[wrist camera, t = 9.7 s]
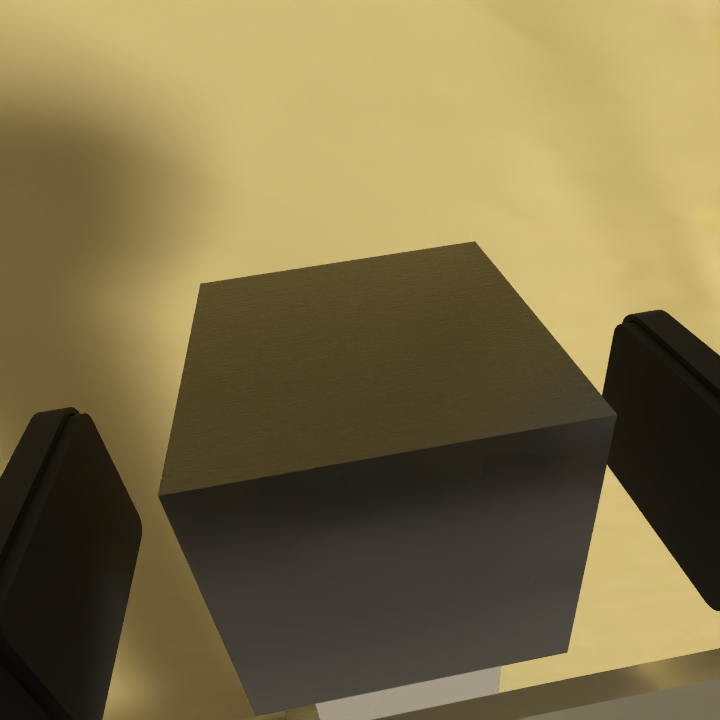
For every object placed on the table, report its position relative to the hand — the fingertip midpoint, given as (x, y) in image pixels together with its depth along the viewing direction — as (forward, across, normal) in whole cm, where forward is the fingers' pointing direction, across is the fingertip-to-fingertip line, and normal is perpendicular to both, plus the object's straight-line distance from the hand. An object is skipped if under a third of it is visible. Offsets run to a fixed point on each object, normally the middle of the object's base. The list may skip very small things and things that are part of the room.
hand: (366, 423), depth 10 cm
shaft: (+2, 0, +13) cm, 13 cm away
